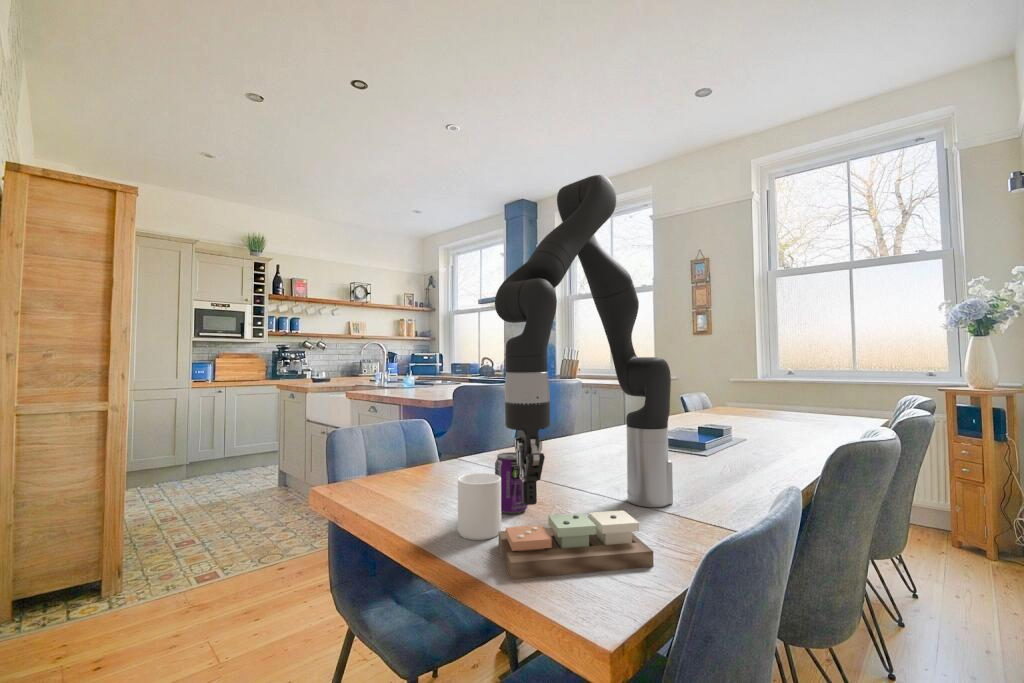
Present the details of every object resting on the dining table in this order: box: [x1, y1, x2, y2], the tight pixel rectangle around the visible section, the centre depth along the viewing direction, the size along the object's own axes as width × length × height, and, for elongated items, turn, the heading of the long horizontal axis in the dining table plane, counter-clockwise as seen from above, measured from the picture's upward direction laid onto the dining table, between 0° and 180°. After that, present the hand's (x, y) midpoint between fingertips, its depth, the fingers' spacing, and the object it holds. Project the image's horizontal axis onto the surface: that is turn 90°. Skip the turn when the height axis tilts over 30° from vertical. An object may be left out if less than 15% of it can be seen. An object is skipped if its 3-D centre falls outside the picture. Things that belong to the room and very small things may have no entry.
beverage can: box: [494, 451, 529, 515], centre depth 103 cm, size 7×7×12 cm
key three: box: [505, 524, 552, 552], centre depth 78 cm, size 6×6×4 cm
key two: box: [547, 512, 596, 548], centre depth 79 cm, size 6×6×4 cm
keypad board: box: [498, 527, 655, 580], centre depth 79 cm, size 23×13×2 cm, turn 100°
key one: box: [588, 509, 640, 545], centre depth 80 cm, size 6×6×4 cm
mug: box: [457, 472, 502, 541], centre depth 91 cm, size 12×8×10 cm
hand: (529, 503), depth 78 cm, fingers closed
